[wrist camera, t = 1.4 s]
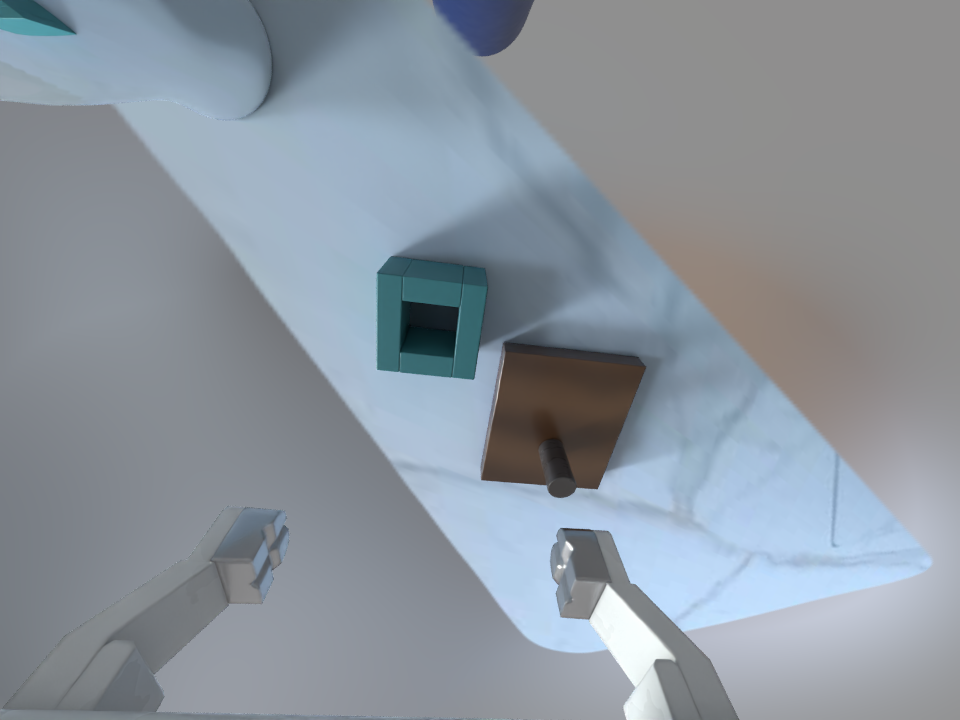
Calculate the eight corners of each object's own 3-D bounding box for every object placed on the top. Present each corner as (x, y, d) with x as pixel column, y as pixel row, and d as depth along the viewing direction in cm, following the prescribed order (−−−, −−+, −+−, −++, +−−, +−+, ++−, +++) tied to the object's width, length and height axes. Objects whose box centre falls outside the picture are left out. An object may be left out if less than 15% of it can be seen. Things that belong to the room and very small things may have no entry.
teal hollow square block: (390, 255, 23) (376, 272, 20) (485, 268, 24) (488, 286, 20) (388, 341, 26) (375, 370, 22) (473, 351, 26) (474, 380, 23)
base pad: (503, 341, 26) (511, 382, 21) (638, 356, 27) (675, 399, 22) (480, 467, 32) (482, 522, 27) (592, 476, 33) (614, 531, 28)
